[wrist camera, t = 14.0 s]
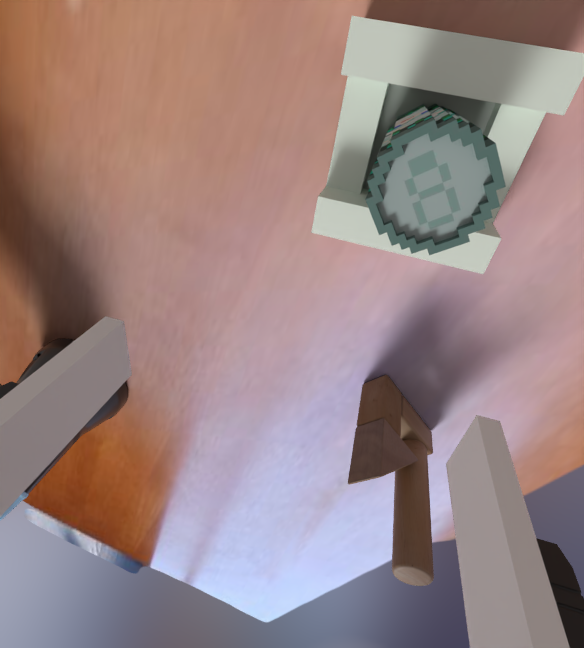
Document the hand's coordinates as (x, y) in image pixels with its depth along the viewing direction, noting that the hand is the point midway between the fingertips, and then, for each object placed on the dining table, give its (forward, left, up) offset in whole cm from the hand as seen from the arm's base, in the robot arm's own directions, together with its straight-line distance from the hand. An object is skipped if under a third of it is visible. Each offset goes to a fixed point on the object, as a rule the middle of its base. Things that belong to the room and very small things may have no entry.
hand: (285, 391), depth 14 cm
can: (+4, +6, -25) cm, 26 cm away
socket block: (+4, +6, -25) cm, 26 cm away
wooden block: (+11, -23, -26) cm, 36 cm away
